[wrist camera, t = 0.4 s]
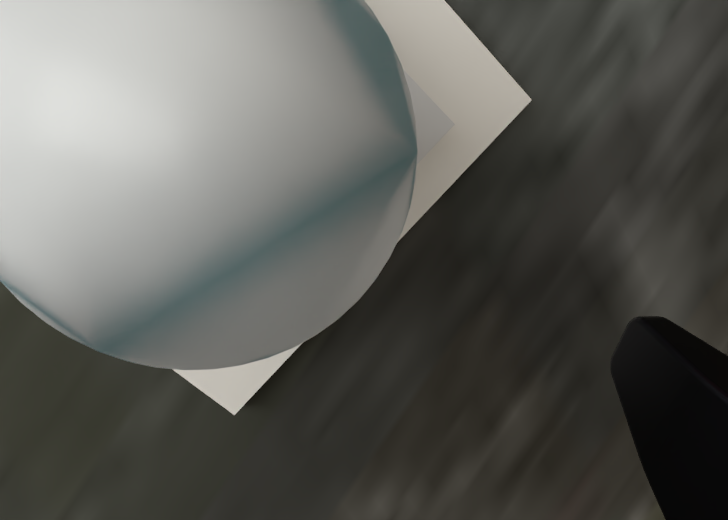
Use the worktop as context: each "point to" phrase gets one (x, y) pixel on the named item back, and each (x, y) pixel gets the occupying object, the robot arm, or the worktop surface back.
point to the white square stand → (434, 135)
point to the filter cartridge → (199, 171)
